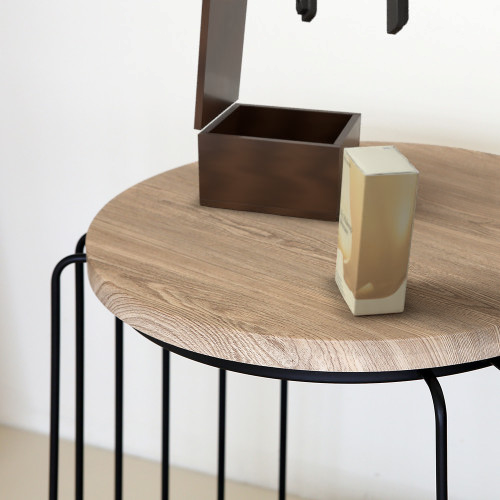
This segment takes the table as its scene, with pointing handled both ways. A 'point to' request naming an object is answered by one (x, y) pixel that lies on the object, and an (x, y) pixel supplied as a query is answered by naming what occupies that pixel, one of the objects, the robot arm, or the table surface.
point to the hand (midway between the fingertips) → (353, 25)
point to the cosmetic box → (375, 228)
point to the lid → (219, 58)
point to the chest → (276, 160)
